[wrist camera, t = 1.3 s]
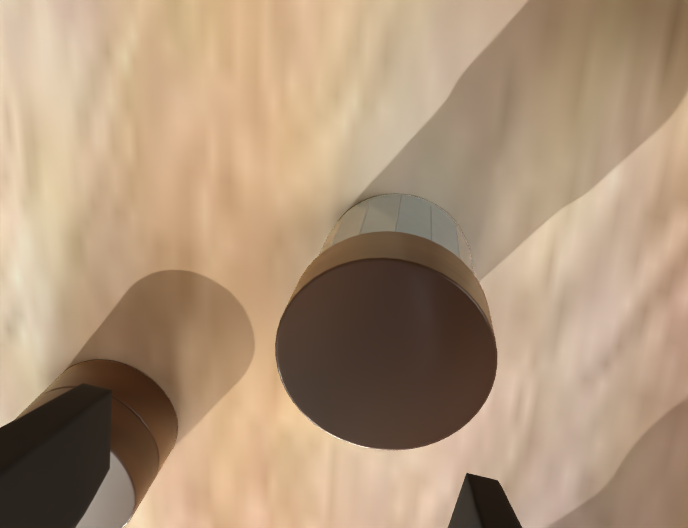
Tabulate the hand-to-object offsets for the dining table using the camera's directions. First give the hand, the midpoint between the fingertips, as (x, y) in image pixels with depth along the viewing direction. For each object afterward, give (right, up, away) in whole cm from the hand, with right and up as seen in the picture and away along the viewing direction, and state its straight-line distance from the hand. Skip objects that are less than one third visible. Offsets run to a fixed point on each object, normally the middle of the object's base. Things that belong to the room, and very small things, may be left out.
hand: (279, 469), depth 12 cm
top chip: (+2, +2, +5) cm, 6 cm away
